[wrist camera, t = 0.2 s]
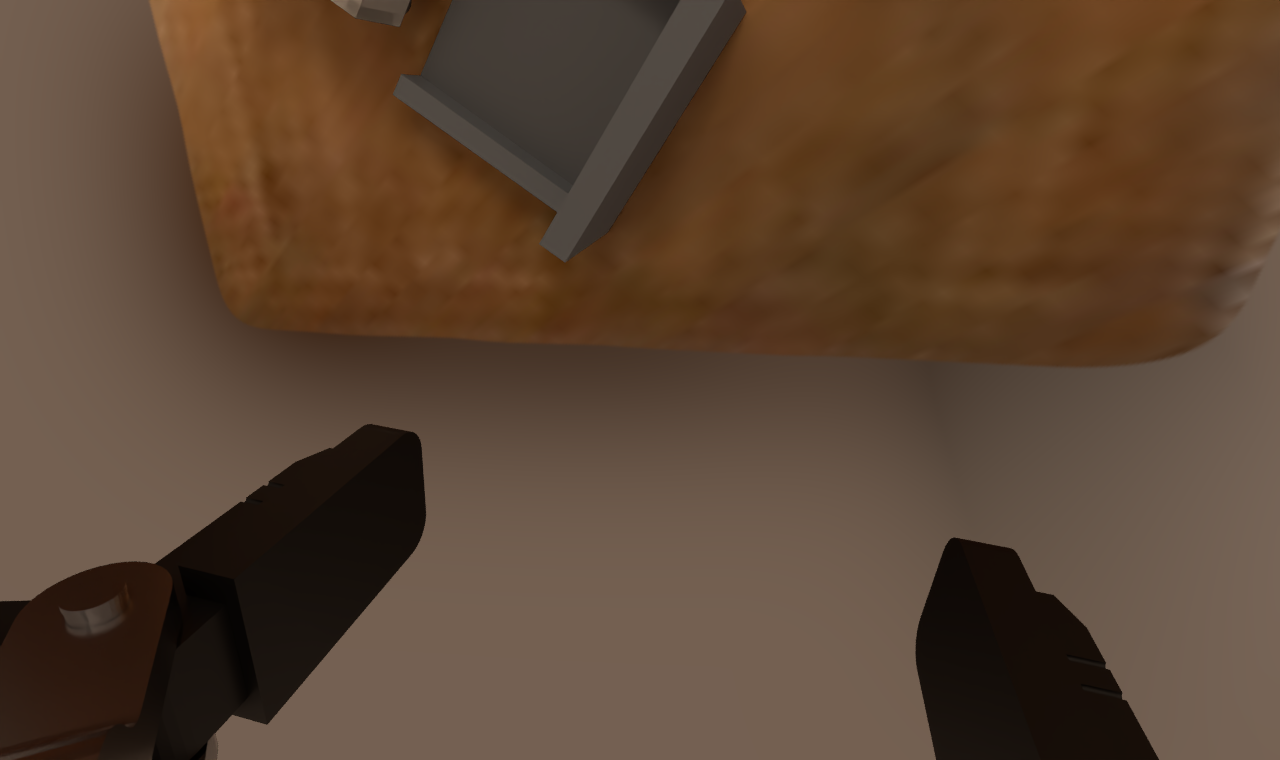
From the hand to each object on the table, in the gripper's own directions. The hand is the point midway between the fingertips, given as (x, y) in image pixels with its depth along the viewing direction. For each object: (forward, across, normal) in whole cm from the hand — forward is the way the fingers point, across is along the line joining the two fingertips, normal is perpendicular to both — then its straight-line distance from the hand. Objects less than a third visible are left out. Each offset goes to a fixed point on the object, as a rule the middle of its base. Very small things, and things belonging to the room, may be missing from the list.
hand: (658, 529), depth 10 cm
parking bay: (+29, +12, -8) cm, 32 cm away
